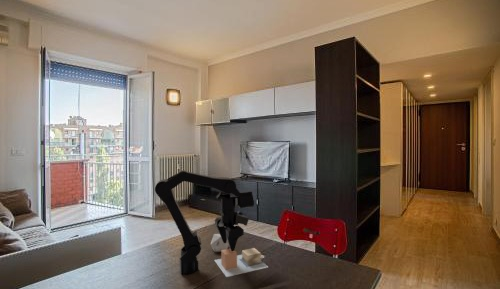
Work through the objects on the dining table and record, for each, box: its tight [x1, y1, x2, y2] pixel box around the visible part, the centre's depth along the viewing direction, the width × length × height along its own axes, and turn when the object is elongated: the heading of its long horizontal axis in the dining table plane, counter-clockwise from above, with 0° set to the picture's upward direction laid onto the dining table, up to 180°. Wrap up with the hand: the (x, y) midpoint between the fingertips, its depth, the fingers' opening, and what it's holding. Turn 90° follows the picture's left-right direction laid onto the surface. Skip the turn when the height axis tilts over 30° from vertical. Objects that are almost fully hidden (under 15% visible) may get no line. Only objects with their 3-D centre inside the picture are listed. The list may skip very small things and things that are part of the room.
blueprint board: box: [214, 254, 269, 278], centre depth 110 cm, size 18×16×1 cm
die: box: [210, 233, 229, 253], centre depth 125 cm, size 8×9×10 cm
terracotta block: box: [220, 248, 238, 270], centre depth 108 cm, size 5×5×6 cm
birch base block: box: [241, 247, 262, 265], centre depth 112 cm, size 6×6×4 cm
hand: (228, 246), depth 108 cm, fingers open, 9 cm apart
